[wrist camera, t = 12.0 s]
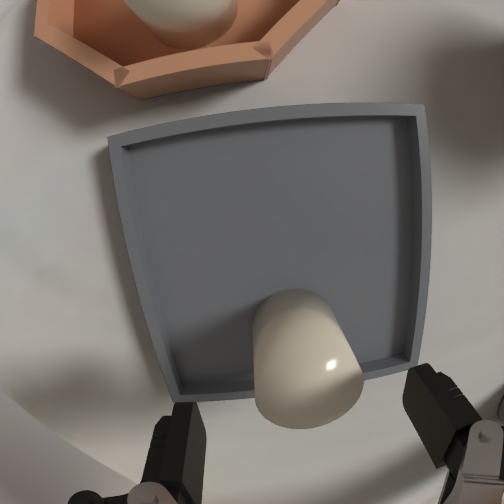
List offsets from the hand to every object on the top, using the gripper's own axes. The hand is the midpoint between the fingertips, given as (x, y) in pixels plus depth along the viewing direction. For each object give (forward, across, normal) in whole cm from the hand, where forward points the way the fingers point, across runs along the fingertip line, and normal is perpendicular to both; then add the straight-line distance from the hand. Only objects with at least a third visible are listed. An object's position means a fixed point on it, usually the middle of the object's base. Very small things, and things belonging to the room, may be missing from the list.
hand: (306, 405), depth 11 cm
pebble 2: (+6, 0, 0) cm, 7 cm away
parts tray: (+7, 0, -3) cm, 8 cm away
